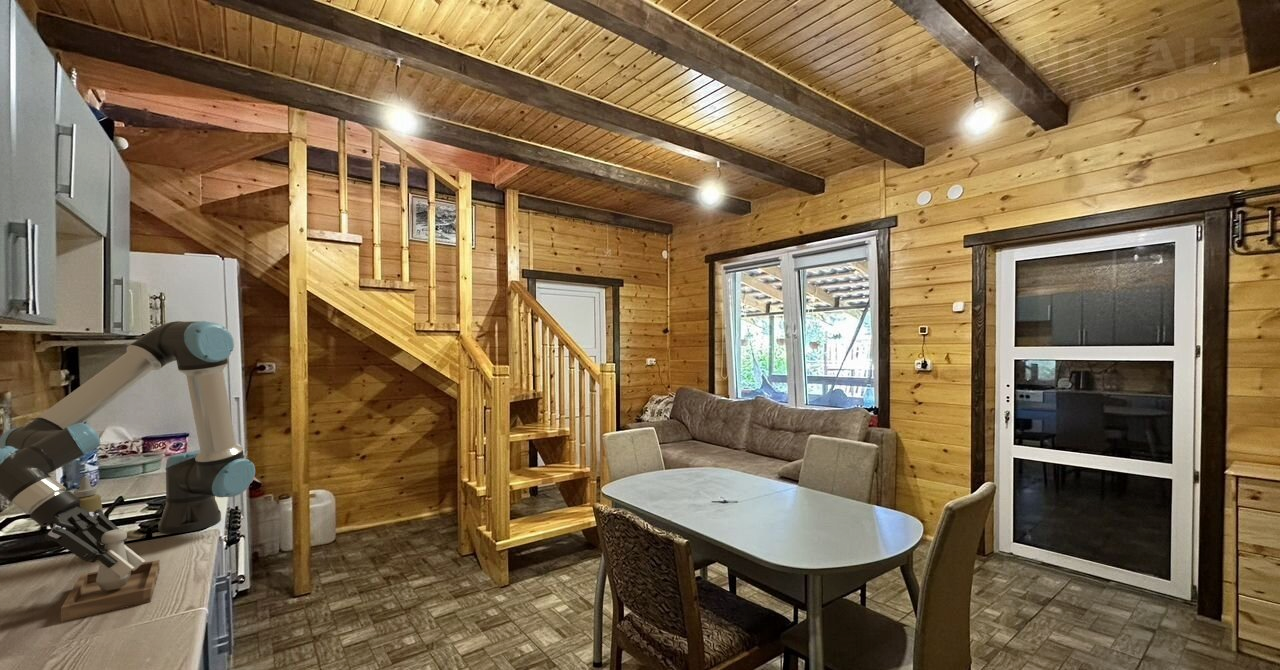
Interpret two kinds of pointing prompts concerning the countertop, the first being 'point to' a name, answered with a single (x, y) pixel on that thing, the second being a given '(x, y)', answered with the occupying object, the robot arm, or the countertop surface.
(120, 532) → the salt shaker
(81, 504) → the squeeze bottle
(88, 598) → the walnut tray
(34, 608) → the countertop surface
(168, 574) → the countertop surface
